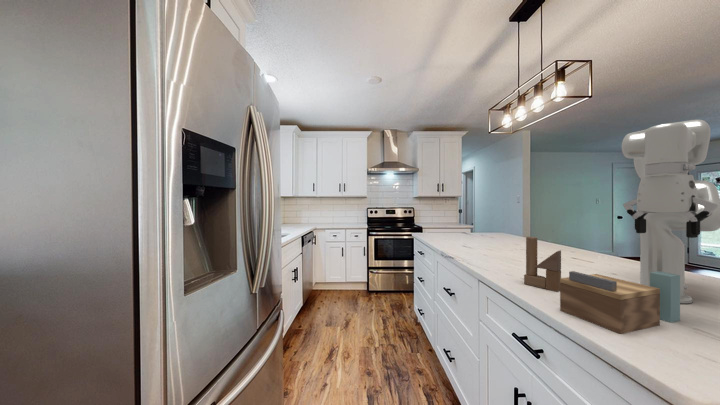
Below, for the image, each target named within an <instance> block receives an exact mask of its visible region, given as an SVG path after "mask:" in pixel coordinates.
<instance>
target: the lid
mask: <svg viewBox="0 0 720 405" xmlns="http://www.w3.org/2000/svg"><path fill="white" fill-rule="evenodd" d="M568 276H569V277H567V276H566V277H561V278H560V283H564V284H567V285H571V286H574V287H577V288H581V289H584V290H588V291H591V292H595V293H598V294H601V295H605V296H608V297H612V298H615V299H619V300H624V299H630V298H635V297H641V296H647V295H653V294H659V293H660V289H659V288H655V287H651V286H646V285H642V284H640V283H637V282H633V281H629V280H624V279H621V278H616V277H611V276H606V275H603V274H600V273H599V274H598V273H595V274H594V273H592V274H587V273H582V272H579V271H575V270H572V271H569V275H568Z"/></svg>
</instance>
